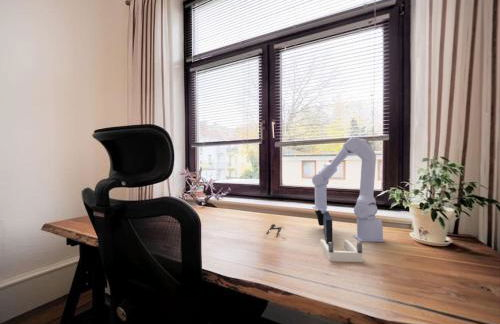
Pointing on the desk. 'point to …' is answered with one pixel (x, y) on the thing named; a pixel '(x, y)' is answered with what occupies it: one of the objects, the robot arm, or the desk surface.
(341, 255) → the rail dock
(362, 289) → the desk surface
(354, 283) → the desk surface
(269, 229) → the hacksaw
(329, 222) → the vhs cassette tape
